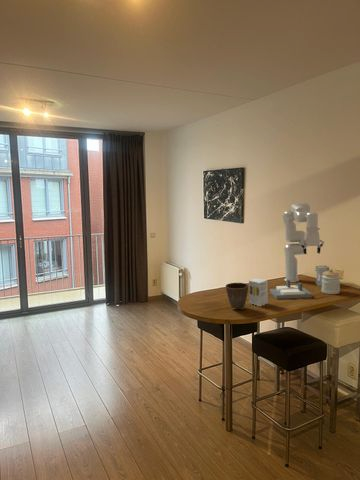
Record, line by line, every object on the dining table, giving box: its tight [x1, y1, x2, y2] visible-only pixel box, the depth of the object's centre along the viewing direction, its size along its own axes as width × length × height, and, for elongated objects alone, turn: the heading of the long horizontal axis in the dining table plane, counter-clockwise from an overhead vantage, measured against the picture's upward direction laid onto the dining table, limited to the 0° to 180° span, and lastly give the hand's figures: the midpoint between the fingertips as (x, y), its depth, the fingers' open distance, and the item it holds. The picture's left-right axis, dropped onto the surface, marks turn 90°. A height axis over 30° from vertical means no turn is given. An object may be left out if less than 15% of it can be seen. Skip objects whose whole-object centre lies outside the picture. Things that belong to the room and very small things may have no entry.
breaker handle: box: [297, 281, 303, 291], centre depth 260 cm, size 4×2×5 cm, turn 1°
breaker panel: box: [269, 284, 313, 300], centre depth 266 cm, size 18×26×5 cm
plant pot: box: [225, 282, 249, 310], centre depth 239 cm, size 15×15×16 cm
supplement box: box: [248, 277, 269, 307], centre depth 247 cm, size 10×9×17 cm
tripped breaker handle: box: [285, 279, 291, 287], centre depth 270 cm, size 4×2×5 cm, turn 1°
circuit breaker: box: [314, 265, 330, 287], centre depth 287 cm, size 8×14×15 cm, turn 89°
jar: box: [320, 268, 341, 295], centre depth 267 cm, size 13×13×18 cm
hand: (311, 253), depth 257 cm, fingers open, 9 cm apart
